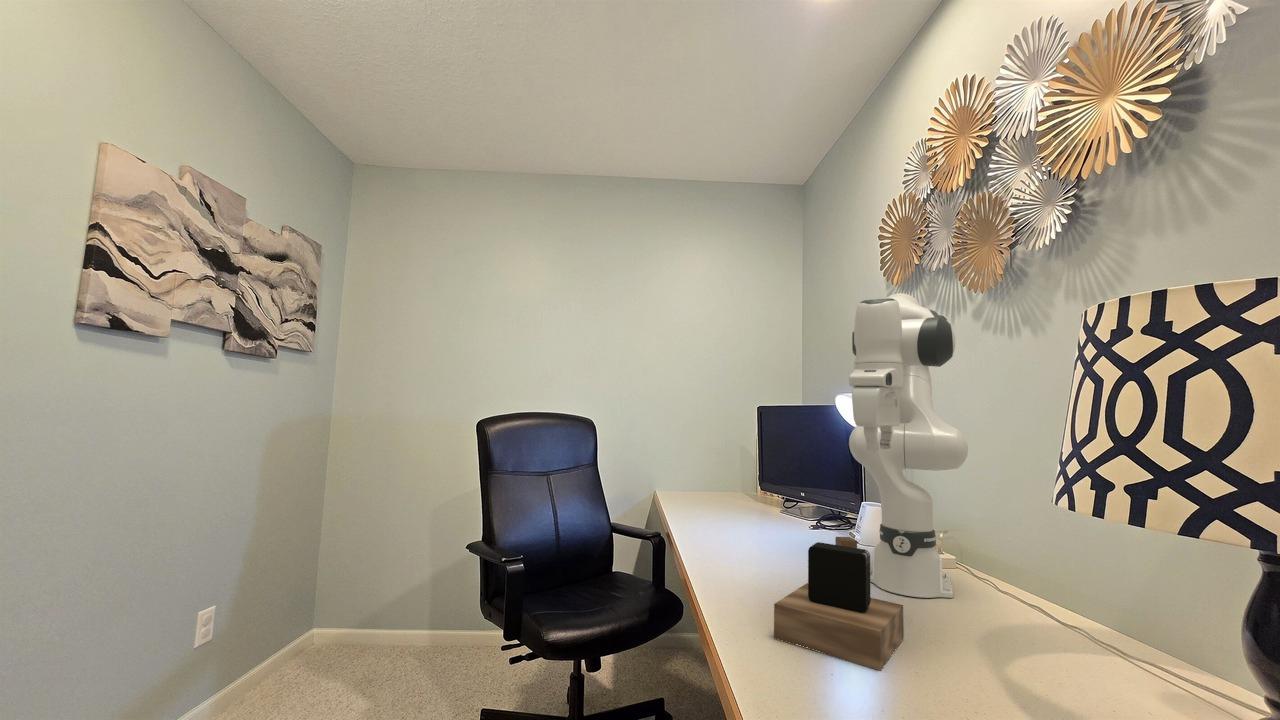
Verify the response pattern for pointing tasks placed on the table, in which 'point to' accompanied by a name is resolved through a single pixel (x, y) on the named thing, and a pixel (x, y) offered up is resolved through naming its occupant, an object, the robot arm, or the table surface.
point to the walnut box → (840, 628)
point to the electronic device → (839, 576)
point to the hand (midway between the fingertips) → (879, 450)
